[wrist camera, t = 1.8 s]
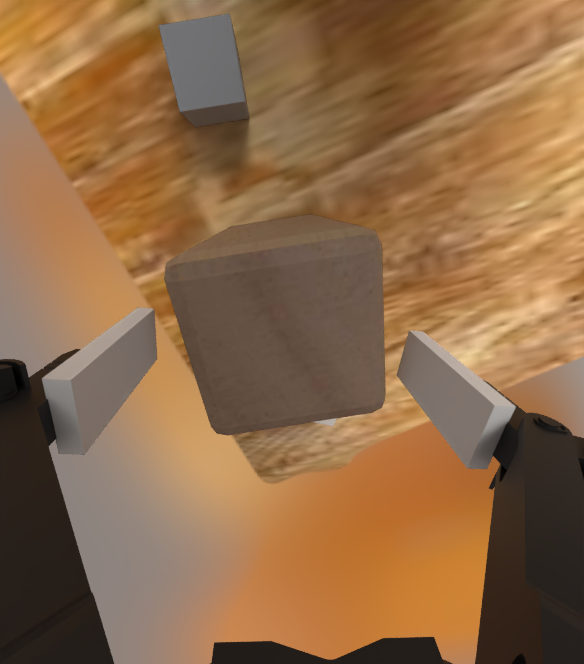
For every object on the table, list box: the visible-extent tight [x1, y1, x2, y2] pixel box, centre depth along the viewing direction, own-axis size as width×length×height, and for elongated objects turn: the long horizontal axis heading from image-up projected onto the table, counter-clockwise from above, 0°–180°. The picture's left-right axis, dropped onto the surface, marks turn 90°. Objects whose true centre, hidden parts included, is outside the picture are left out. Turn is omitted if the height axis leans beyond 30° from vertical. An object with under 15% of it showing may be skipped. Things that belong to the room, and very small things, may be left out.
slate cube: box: [159, 14, 249, 127], centre depth 24 cm, size 5×5×5 cm
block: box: [164, 214, 385, 435], centre depth 23 cm, size 10×10×20 cm
